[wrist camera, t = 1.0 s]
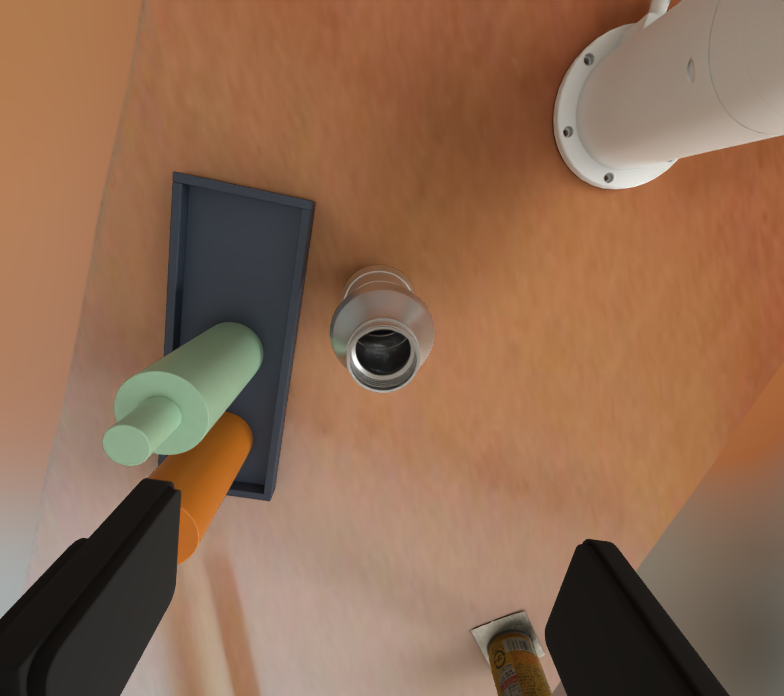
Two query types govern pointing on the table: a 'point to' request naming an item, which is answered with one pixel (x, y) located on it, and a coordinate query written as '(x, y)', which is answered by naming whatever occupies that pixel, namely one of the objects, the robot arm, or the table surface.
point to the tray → (241, 297)
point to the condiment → (513, 656)
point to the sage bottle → (182, 394)
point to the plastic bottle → (381, 329)
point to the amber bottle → (205, 477)
